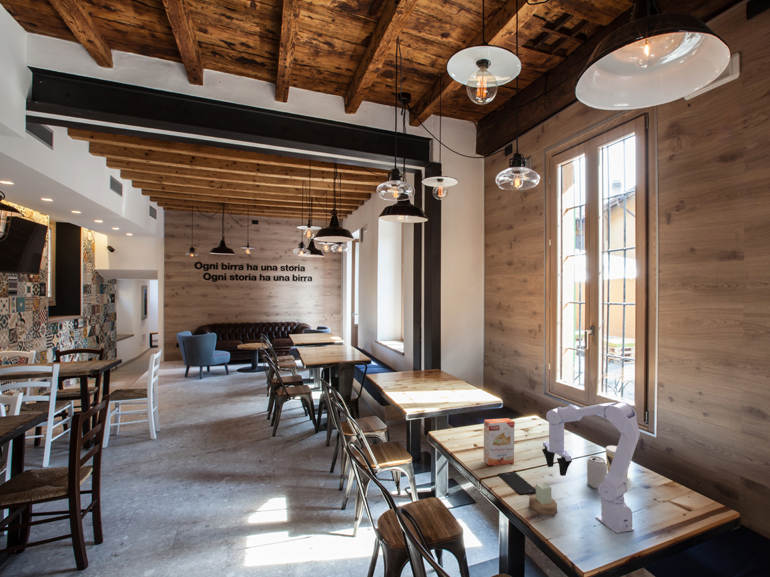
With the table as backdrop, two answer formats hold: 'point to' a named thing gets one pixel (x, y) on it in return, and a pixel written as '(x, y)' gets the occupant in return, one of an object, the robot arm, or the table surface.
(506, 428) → the cracker box
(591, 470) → the can
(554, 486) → the table surface
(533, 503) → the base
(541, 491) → the block
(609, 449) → the coffee cup
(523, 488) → the cell phone
